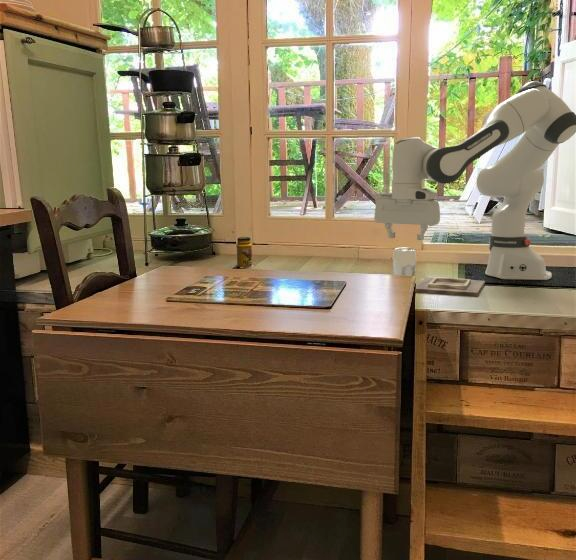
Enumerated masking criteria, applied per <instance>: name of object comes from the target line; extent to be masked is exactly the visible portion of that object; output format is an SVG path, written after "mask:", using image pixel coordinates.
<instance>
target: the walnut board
mask: <svg viewBox="0 0 576 560" xmlns="http://www.w3.org/2000/svg"><path fill="white" fill-rule="evenodd" d="M485 284H486V281H485V280H481V279H479V280H477V279H476V280H475V279H469V278H457V277H456V278H455V277H454V278H453V277H439V276H438V277H424V278H423V279H422V280H421V281H419V282H418V283H417V284H416V285H415V286H416V292H415V293H420V294H431V295H432V294H433V295H436V294H437V295H450V296H451V295H452V296H465V297H478V296H479V295H480V293H481V291H482V290H483V288H484V286H485Z"/></svg>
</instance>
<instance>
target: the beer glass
mask: <svg viewBox="0 0 576 560" xmlns="http://www.w3.org/2000/svg"><path fill="white" fill-rule="evenodd" d="M416 254H417V253H416V248H413V247H397V248H396V247H395V248H393V255H392V271H393V276H394V275H406V276H414V277H415V274H416V268H417V267H416V266H417V255H416Z"/></svg>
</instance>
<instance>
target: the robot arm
mask: <svg viewBox="0 0 576 560" xmlns="http://www.w3.org/2000/svg"><path fill="white" fill-rule="evenodd" d="M482 119H483V120H482V123H481V124H482V127H481V128H480V129H478V131H477V132H476V133H474V134H472V135H471V136H469V137H467V138H466V139H464V140H463V141H461V142H460V143H458V144H456V145H453V146H445V147H441V148H440V147H439V148H438V147H437V146H434V145H432V144H429V143H427V142H426V141H424V140H423V139H422V138H421V137H419V136H413V137H408V138H404V139H400V140H399V139H398V141H396V142H395V144H394V146H393V151H392V160H391V164H392V165H391V168H392V173H393V174H392V175H393V176H392V181H391V192H380V193H378V194H377V195H376V197H375V199H374V201H375V207H374V208H375V209H374V217H373V219H374V222H375V223H378V224H385V225H384V228H385V229H386V231H387V233H388V239H395V238H396V232H395V231H393V229H392V227H393V224H394V225H395V224H398V225H415V226H416V225H419V226H420V229H421V231H420V232H419V233H417V234H416V240H417V241H424V239H425V233H426V232H427V230H428V228H429V226H436V225H439V223H440V221H441V211H440V210H441V209H440V203H439V201H438V200H437V199H438V197H439V195H438V192H437V191H435V190H432V189H429V188H427V187H424V186H423V180H427V181H432V182H437V183H439V184H444V185H445V184H451V183H454V182H456V181H457V180H458V179H459V178H461V176H462V175H463V173H465V171H466V169H467V168H468V167H469V165H471V164H472V163H473V162H474V161H476V160H477V159H479V158H481V157H482V156H483V155H485V154H486V153H488V152H490V151H491V150H492V149H494V148H496V147H498V146H500V145H503V144H506V143H508V142H510V141H512V140H514V139H516V138H518V137H520V136H521V135H522V134H523V135H522V136H521V137H520V139H519V140H518V141H517V143H516V144H515V145H514V146H513V147H512V149H510V151H508V152H507V153H506V154H505V155H504V156H502V157H501V158H500V159H499V160H497V161H496V162H494V163H492V164H491V165H489V166H487V167H484V168H483V169H481V170H480V172H478V175H477V177H476V188H477V190H478V192H479V193H480V194H481V195H482V196H485V197H491V198H504V199H503V201H502V204H501V205H500V207H498V208H497V209H496V210H494V212H493V213H492V218H491V233H490V234H491V235H490V236H489V246H488V247H489V248H488V249H489V257H488V261H487V267H486V269H485V272H484V274H485V275H487V276H488V277H489V276H490V277H495V278H499V279H501V280H533V281H535V280H537V281H539V280H540V281H547V280H550V279H551V278H552V275H553V274H552V272H551V271H548V270H547V268H546V262H545V259H544V258H543V256H541V255H540V254H538V252H536V251H535V250H534V249H533V248H531V247H530V244H531V238H529V237H527V236H526V235H525V226H526V217H527V212H528V209H529V206H530V205H531V202H532V200H533V198H534V197H535V196H536V195H537V194H538V193H539V192H540V191H541V190H542V188H543V187H544V186H543V185H544V182H545V176H544V174H543V171H542V170H541V169H540V168H541V167H542V166H544V164H545V163H546V162H547V160H548V159H549V158H550V156H551V155H552V154H553V153H554V151H555V150H556V149H557V147H558V146H559V144H563V143H565V142H566V141H569V139H571V138H572V137H573V136H574V135H575V133H576V113H575V112H573V110H571V109H570V107H569V106H568V105H567V103H566V102H565V101H564V100H563V99H562V98H561V97H559V96H558V95H557V94H556V93H554V91H552V90H550V88H548V86H547V85H546V84H545V83H543V82H541V81H539V80H535V81H529V82H526V83H525V84H524V85H522V86H520V88H519V89H518V90H517V92H516V94H515V95H512V96H511V97H509V98H508V99H506V100H504V101H502V102H500V103H499V104H497V105H495V107H493V108H492V109H491V110H490V111H489V112H487V113H486V114H485V115H484V117H483V118H482Z"/></svg>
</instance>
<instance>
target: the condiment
mask: <svg viewBox="0 0 576 560" xmlns="http://www.w3.org/2000/svg"><path fill="white" fill-rule="evenodd" d="M236 239H237V241H236V242H237V244H236V262H237V263H236V264H233V265H232V267H244V268H243V269H253V268H254V266H255V264H253V249H252V248H253V247H252V243H251V242H252V241H251V237H250V236H249V237H248V236H240V237H237V238H236ZM250 267H251V268H250Z"/></svg>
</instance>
